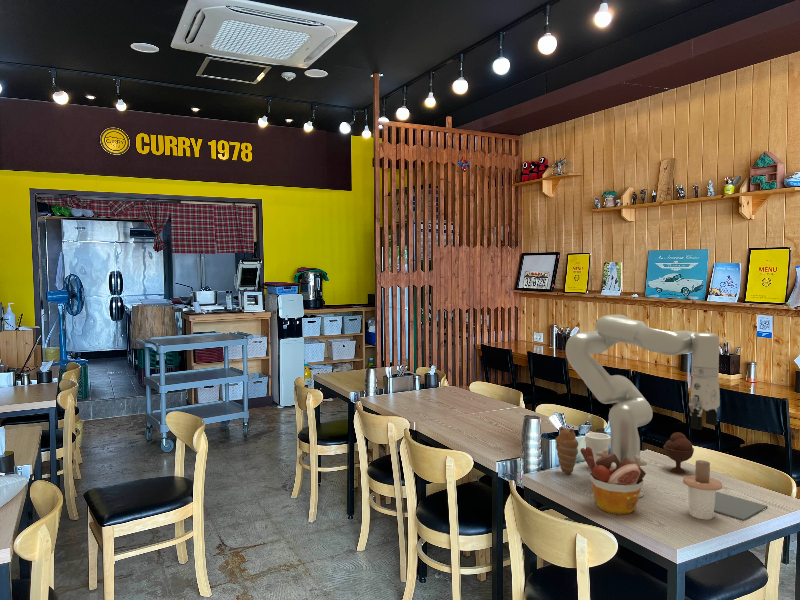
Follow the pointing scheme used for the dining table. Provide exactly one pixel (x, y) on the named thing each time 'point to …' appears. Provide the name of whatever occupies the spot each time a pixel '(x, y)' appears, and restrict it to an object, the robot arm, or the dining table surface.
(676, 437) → the ice cream bowl
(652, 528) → the dining table surface
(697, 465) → the lid
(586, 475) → the dining table surface
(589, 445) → the foam cup
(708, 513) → the white cup
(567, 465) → the cat ice cream
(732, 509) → the mat
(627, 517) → the dining table surface
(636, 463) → the bucket of meat
